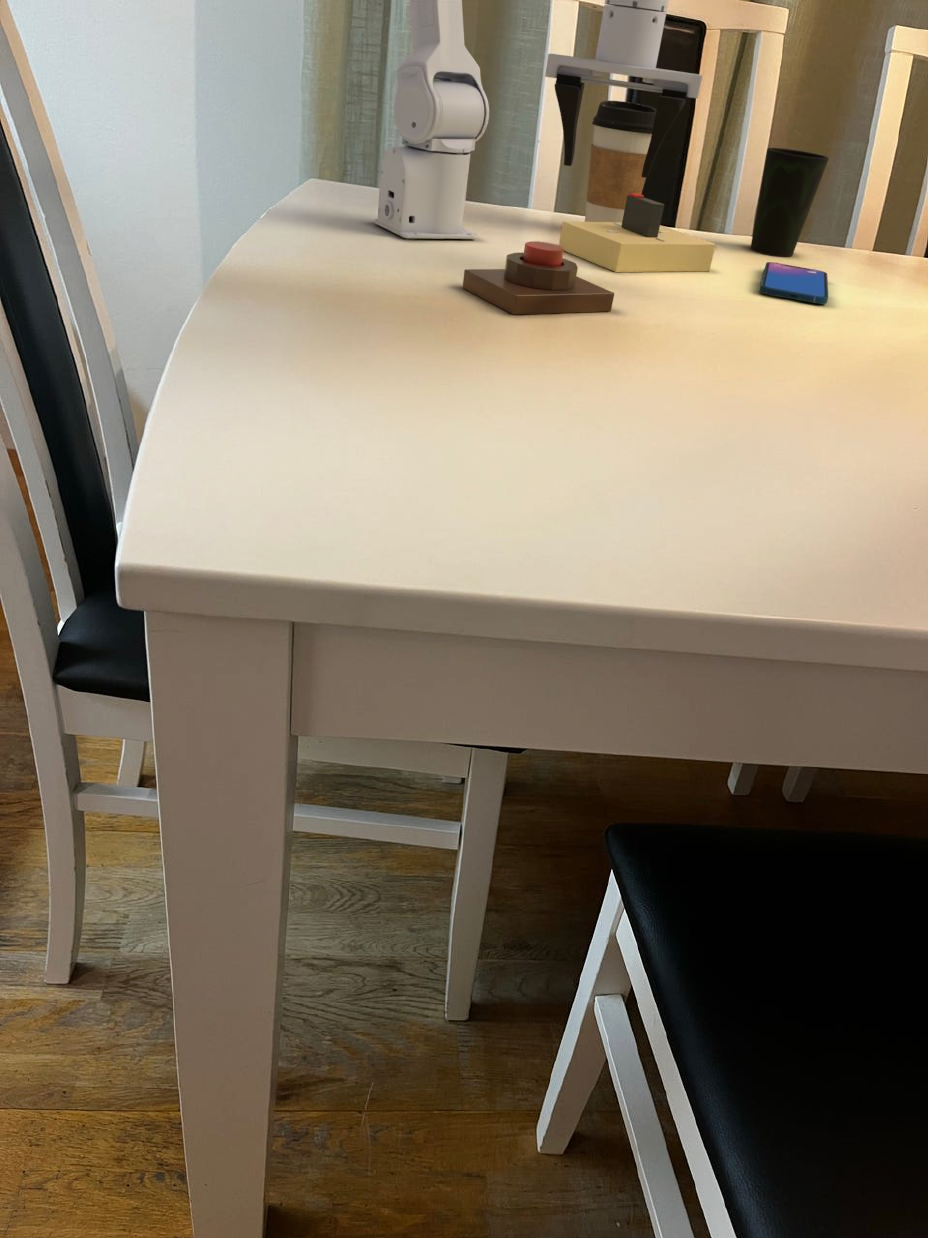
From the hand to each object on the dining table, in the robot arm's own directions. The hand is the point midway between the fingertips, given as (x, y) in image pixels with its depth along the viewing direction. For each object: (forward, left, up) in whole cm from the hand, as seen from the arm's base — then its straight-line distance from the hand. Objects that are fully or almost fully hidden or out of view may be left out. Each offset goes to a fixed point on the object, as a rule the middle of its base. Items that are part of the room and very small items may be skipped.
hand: (606, 170), depth 96 cm
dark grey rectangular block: (+13, +8, -7) cm, 17 cm away
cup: (+40, +12, -11) cm, 43 cm away
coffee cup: (+19, +21, -11) cm, 30 cm away
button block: (-11, -7, -10) cm, 17 cm away
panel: (+13, +8, -10) cm, 18 cm away
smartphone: (+26, -5, -10) cm, 28 cm away
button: (-11, -7, -7) cm, 15 cm away
